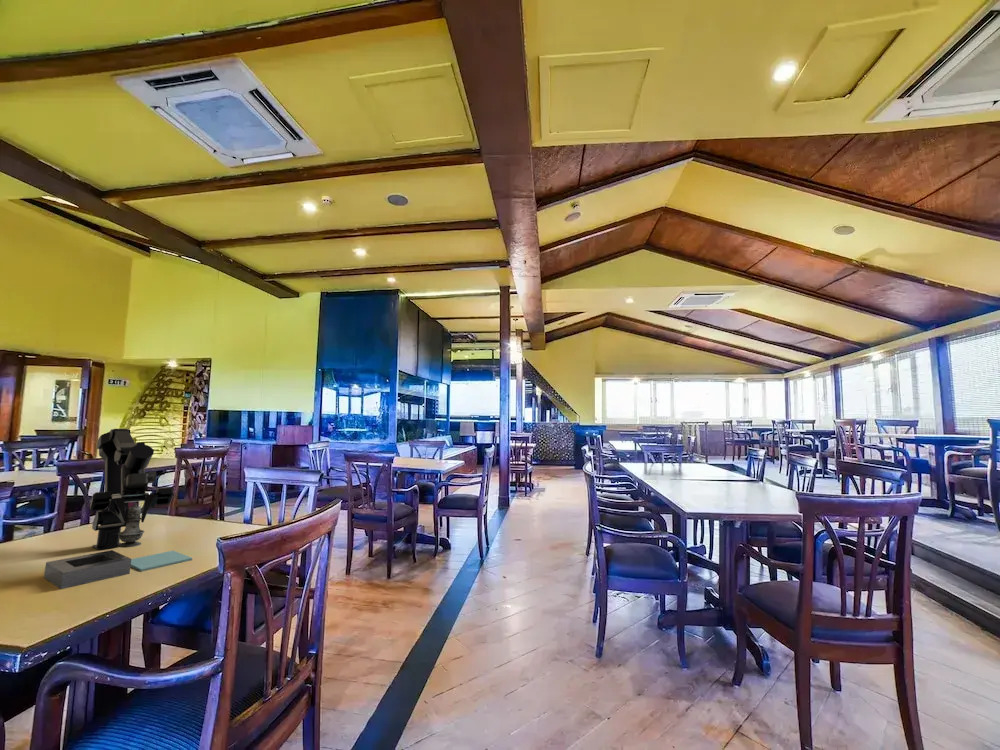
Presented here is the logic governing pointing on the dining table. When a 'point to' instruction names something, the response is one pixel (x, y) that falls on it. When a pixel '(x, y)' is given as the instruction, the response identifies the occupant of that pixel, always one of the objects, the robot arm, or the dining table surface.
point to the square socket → (86, 568)
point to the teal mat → (158, 560)
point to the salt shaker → (132, 529)
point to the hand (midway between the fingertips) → (134, 522)
